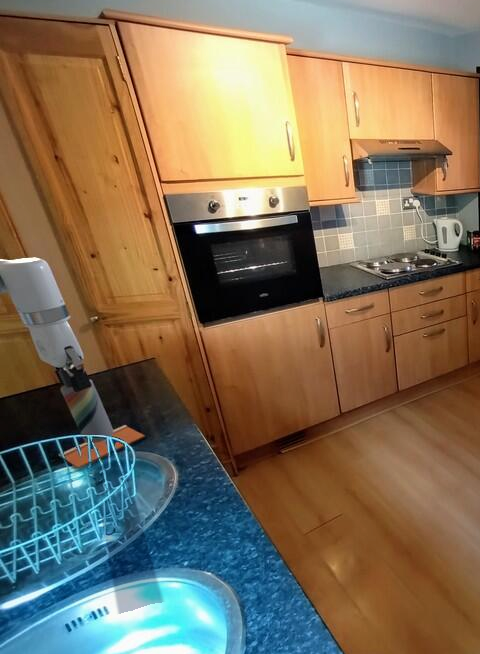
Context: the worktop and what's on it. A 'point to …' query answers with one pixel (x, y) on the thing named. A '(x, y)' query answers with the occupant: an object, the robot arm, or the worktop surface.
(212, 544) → the worktop surface
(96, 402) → the lotion bottle
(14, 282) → the robot arm
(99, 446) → the orange flat block
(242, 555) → the worktop surface
